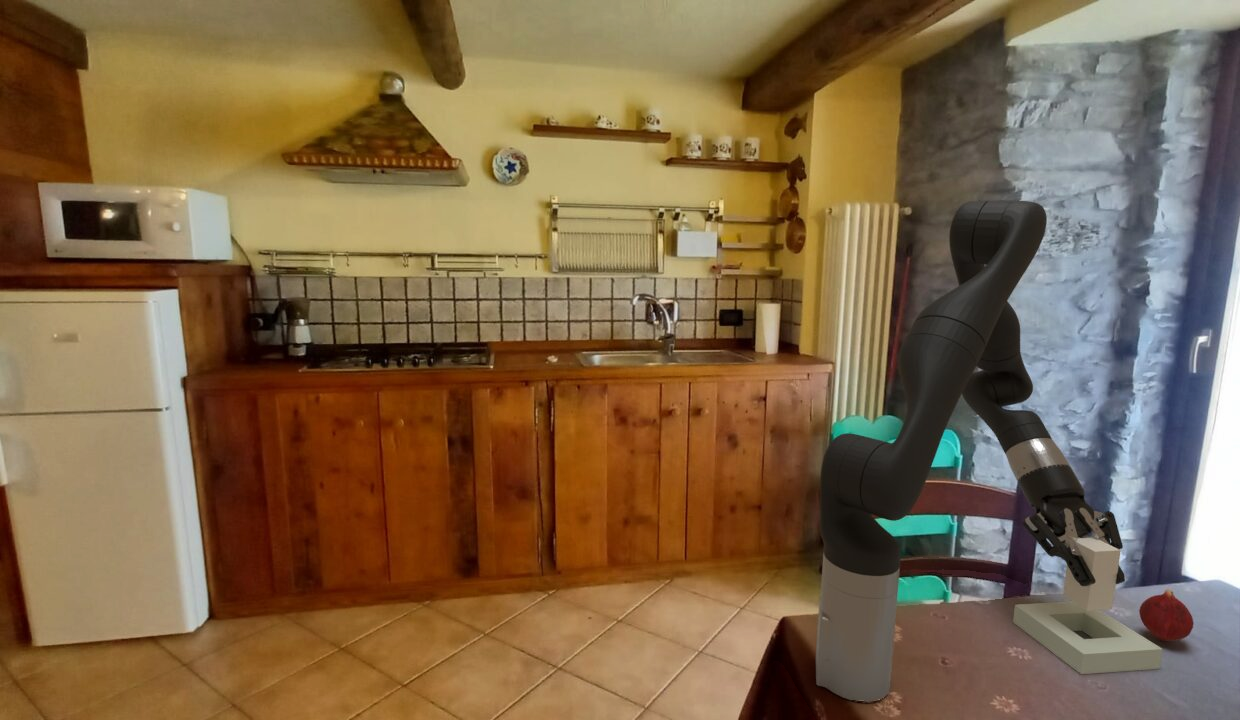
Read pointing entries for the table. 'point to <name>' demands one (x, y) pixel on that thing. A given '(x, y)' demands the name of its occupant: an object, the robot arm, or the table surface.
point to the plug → (1104, 570)
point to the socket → (1098, 655)
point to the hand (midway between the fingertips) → (1103, 583)
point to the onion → (1166, 617)
